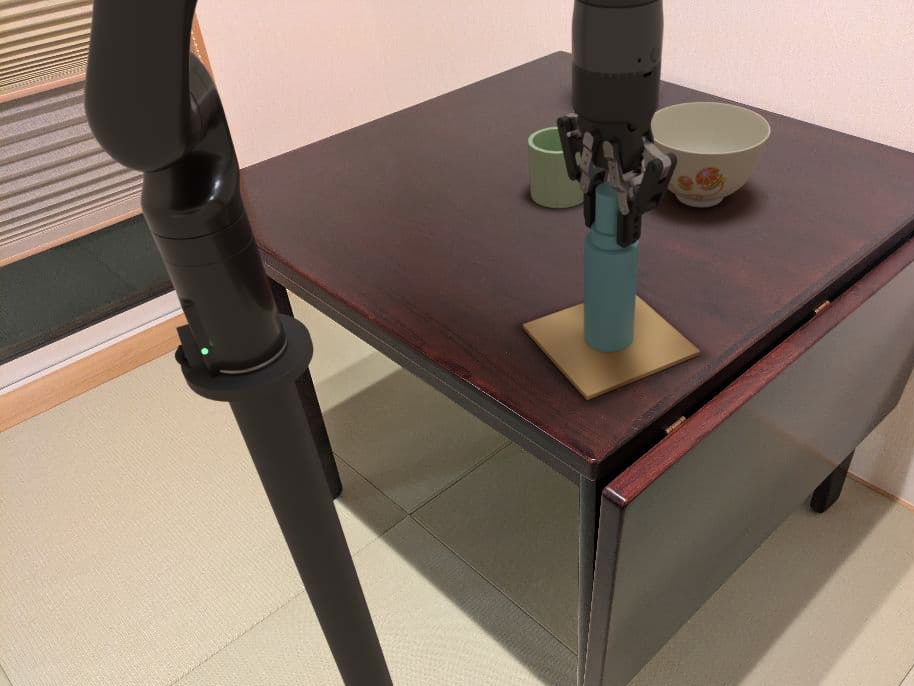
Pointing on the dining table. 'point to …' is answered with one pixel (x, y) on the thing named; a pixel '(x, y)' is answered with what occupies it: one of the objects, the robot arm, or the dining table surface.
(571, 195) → the holder
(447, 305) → the dining table surface
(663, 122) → the bowl
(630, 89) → the robot arm
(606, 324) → the bottle
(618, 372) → the cork mat
